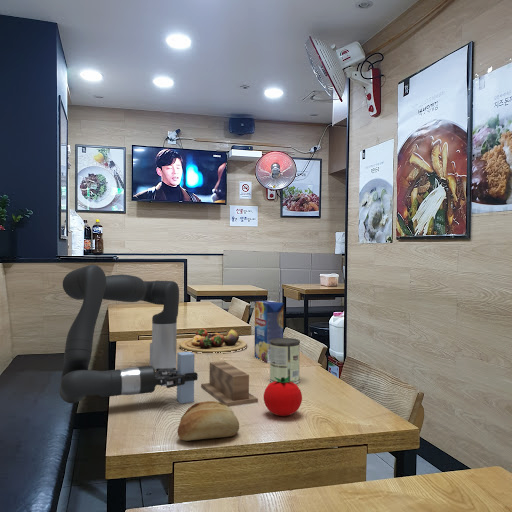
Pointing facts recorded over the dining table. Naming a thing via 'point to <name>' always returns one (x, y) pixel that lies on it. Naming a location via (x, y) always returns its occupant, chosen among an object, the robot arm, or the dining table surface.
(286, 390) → the tomato
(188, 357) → the blue gray rectangular block
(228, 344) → the wooden plate with food
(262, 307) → the juice carton
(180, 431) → the bread roll
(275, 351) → the coffee can
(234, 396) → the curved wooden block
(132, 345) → the dining table surface
